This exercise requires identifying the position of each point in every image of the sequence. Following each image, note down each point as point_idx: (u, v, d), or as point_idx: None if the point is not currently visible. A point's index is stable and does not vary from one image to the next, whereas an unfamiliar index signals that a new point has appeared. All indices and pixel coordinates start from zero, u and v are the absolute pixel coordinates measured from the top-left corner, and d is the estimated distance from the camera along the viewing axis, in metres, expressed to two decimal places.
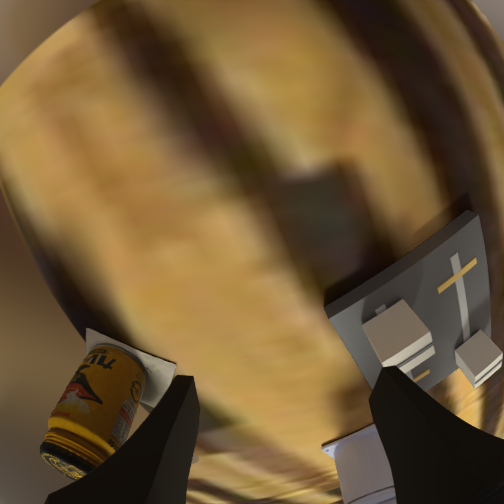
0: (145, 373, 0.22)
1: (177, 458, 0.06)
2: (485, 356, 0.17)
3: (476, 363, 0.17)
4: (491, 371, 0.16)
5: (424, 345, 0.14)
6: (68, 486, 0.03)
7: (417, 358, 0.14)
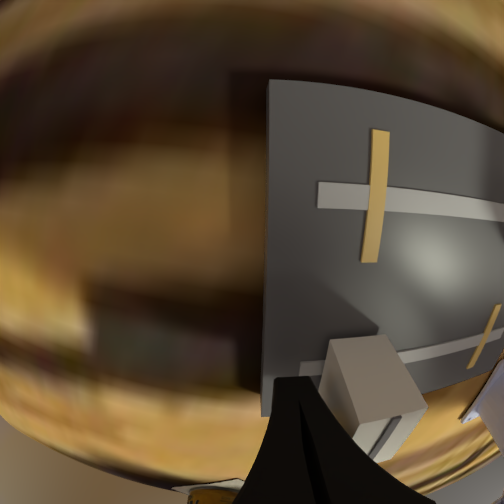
0: (233, 490, 0.19)
1: None
2: None
3: None
4: None
5: (380, 430, 0.06)
6: None
7: (394, 436, 0.07)
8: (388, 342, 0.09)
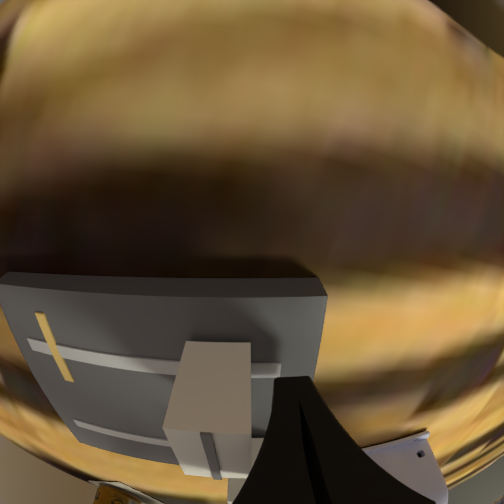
0: (125, 490, 0.21)
1: None
2: None
3: None
4: (231, 454, 0.07)
5: None
6: None
7: None
8: None
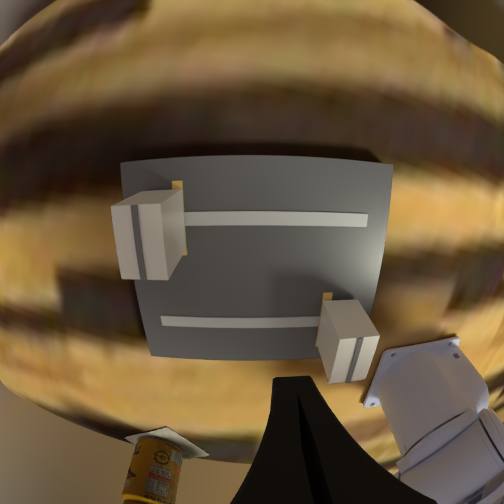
0: (168, 441, 0.26)
1: None
2: None
3: None
4: (150, 234, 0.12)
5: (352, 347, 0.14)
6: None
7: (363, 355, 0.14)
8: (358, 303, 0.17)
